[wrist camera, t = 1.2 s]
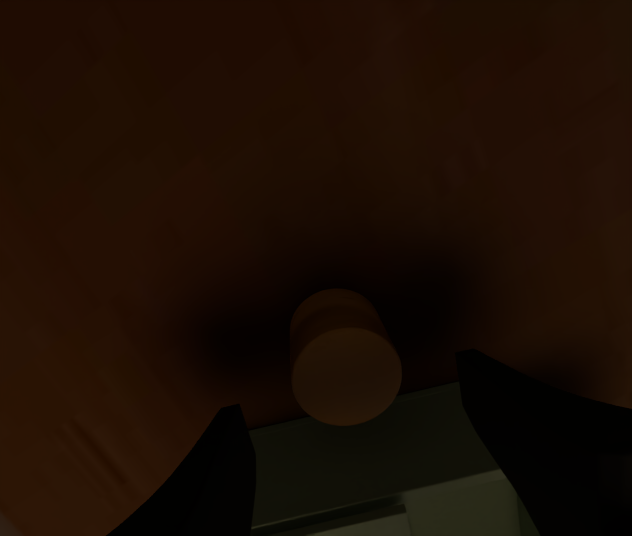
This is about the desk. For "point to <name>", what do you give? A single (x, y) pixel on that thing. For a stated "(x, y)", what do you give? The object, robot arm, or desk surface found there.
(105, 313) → the desk surface
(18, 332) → the desk surface
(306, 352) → the peg
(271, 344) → the desk surface
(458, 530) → the box
